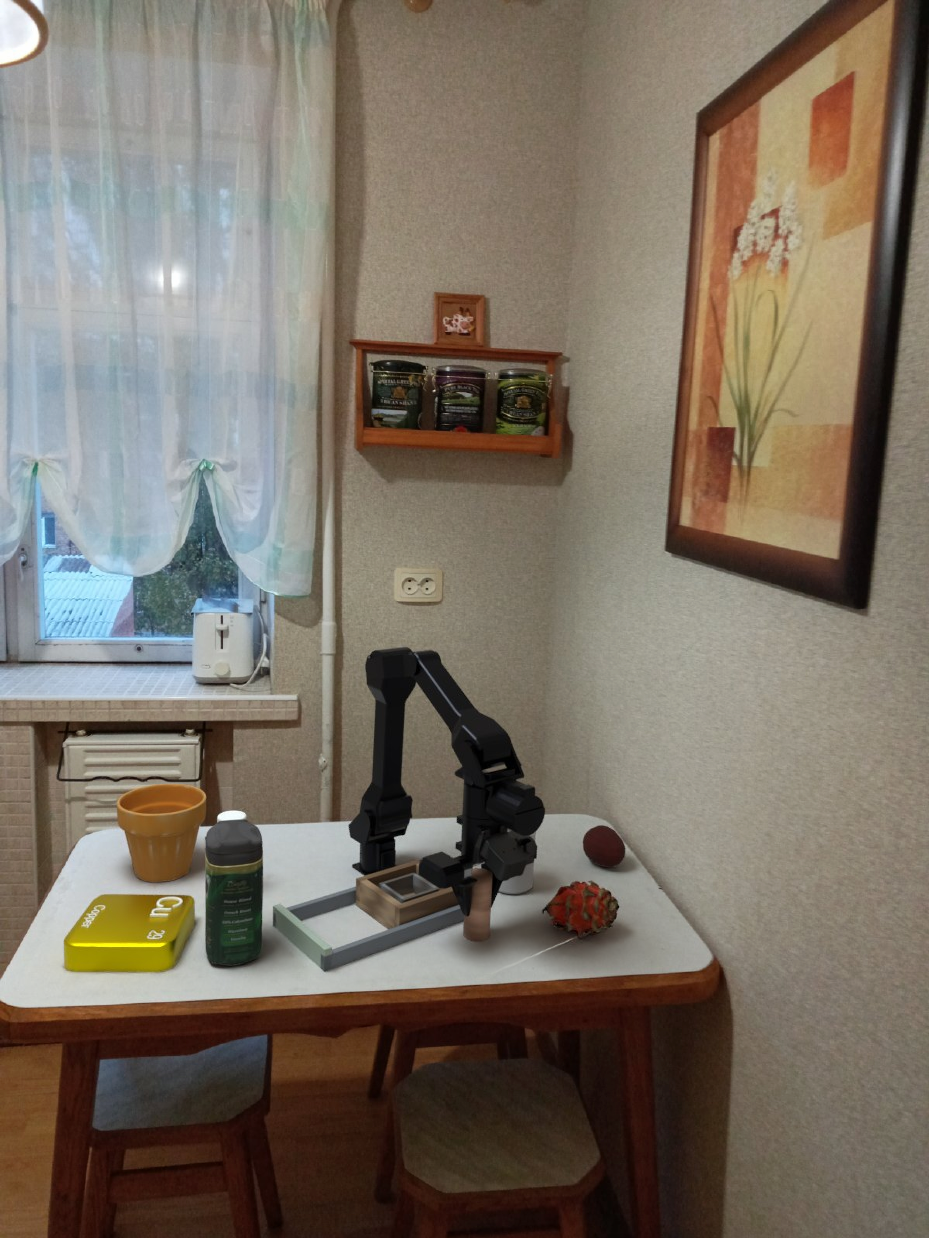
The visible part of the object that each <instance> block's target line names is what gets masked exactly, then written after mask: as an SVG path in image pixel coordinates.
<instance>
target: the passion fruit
mask: <svg viewBox="0 0 929 1238" xmlns="http://www.w3.org/2000/svg"><path fill="white" fill-rule="evenodd" d="M582 847H583V848H582V849H583V850H582V851H583V853H584V854H585V856H586V857H587V858H588V859H589V860H590V861H591V862H593V863H595V864H596V865H598V866H601V867H604V868H614V867H615V868H616V867H617V866H618V865H619V866H620V864H621V863H622V862H623V860H624V859H625V857H626V846H625V843H624V840H623V839H622V838H621V837H620V835H619V834H618V832H617V831H616V830H615V829H613V828H612V827H609V826H607V825H603V824H602V825H596V826H594V827H592V828H589V830H587V831H586V833H585V834H584V835H583V839H582Z"/></svg>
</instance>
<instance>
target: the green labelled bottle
mask: <svg viewBox="0 0 929 1238" xmlns="http://www.w3.org/2000/svg"><path fill="white" fill-rule="evenodd" d="M204 841H205V842H204V843H205V848H204V849H205V850H204V851H205V853H204V854H205V859H204V860H205V863H204V864H205V870H204V871H205V874H204V875H205V879H204V880H205V881H204V882H205V885H204V886H205V887H204V888H205V893H204V894H205V898H204V900H205V904H204V905H205V921H204V922H205V923H204V924H205V925H204V929H205V931H204V932H205V934H204V935H205V936H204V937H205V941H204V942H205V943H204V944H205V953H206V956H207V958H208V960H209V962H211V963H212V964H215V965H222V966H228V967H229V966H230V967H231V966H240V965H243V964H246V963H248V962H251V961H254V960H255V959H258V958H259V956H260V955H261V953H262V949H263V909H264V908H263V905H264V903H263V902H264V899H263V898H264V850H263V844H264V843H263V837H262V832H261V830H260V829H259V827H258V826H257V825H255V824H254V823H252V822H250V821H248V820H246V819H238V820H224V821H219V822H218V823H217V822H216V823H215V824H214V825H213V826H211V827H210V828H209V829H208V831H207V832H206V836H205V837H204Z"/></svg>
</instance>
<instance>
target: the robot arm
mask: <svg viewBox="0 0 929 1238" xmlns="http://www.w3.org/2000/svg"><path fill="white" fill-rule="evenodd" d="M364 666H365V667H364V668H365V677H366V686H367V688H368V689H369V691H370V693H371V695H372V697H373V698H374V700H375V701H374V702H375V703H374V704H375V707H374V724H373V725H374V727H373V744H372V745H373V749H372V766H371V767H372V770H371V774H372V775H371V783H370V784H369V785H368V787H367V788H366V790H365V792H364V793H363V794H362V796H361V802H360V807H359V813H358V814H357V815H356V816H355V817H354V818H353V820H352V821H351V822H350V823H349V824H348V832H349V836H350V838H351V839H353V840H354V842H355V841H356V842H357V843H359V862H356V863H352V865H351V868H352V869H354V870H355V871H356V872H358V873H360V874H361V875H362V876H366V875H369V874H372V873H376V872H379V871H382V870H386V869H389V868H392V867H396V866H399V865H397V864H396V861H397V859H396V858H397V854H396V853H397V851H396V839H395V838H397V837H400V836H401V837H402V836H406V833H407V831H408V830H407V829H408V826H409V825H410V821H411V819H412V818H413V813H412V809H413V808H412V807H413V797H412V796H411V795H410V794H408V793H407V791H406V790H405V788H404V787H403V785H402V775H403V754H404V739H405V738H404V736H405V735H404V734H405V719H406V718H405V716H406V715H405V713H406V702H407V700H408V699H409V697H410V696H411V694H412V692H413V691H414V689H416V688H415V687H416V686H417V685H418V687H419V688H420V690H421V691H422V692H423V694H424V695H425V697H426V699H427V700H428V701H429V702H430V704H431V705H432V706H433V708H434V709H435V710H436V712H437V714H438V715H439V716H440V718H441V719H442V721H443V722H444V724H445V725H446V726H447V728H448V730H449V732H450V734H451V740H450V741H451V748H452V750H453V751H454V755H455V756H456V757H457V759H458V761H459V764H460V765H461V767H459V768H458V769H456V770H454V771H455V772H454V776H455V777H458V778H459V779H461V780H463V792H462V814H461V815H456V822H455V823H457V824H458V825H460V826H461V837H460V838H461V840H459V841H456V842H455V847H454V849H455V850H457V851H459V852H460V855H459V856H454V857H453V856H451V855H449V854H448V853H445V852H444V851H440V852H439V851H438V852H436V853H433V854H428V855H425V856H423V857H422V858H421V859H420V860H419V861H420V862H419V875H420V876H421V877H423V878H424V879H426V880H428V881H429V882H431V883H432V884H434V885H435V886H437V887H439V888H442V889H446V888H449V887H452V889H453V892H454V894H455V896H456V899H457V901H458V903H459V906H460V908H461V910H462V913H463V914H464V915H465V916H466V917H468V916H469V915H470V909H471V897H472V886H473V885H474V884H475V883H476V882H478V880H477V879H475V878H474V877H472V869H473V868H475V867H477V866H480V868H483V869H487V870H489V871H490V872H492V895H491V909H492V907H493V906H494V903H495V900H496V898H497V896H498V893H499V892H498V891H499V889H500V886H501V884H502V882H503V881H507V880H509V879H510V878H513V877H516V876H521V875H523V872H524V870H525V867H526V865H528V864H531V863H533V862H534V863H535V860H537V859H538V857H537V856H538V845H537V843H536V839H535V840H534V839H533V838H532V837H531V836H529V835H532V834H533V833H535V832H536V833H537V831H538V830H539V829H540V828H541V826H542V824H543V821H544V819H545V814H546V808H545V805H544V802H543V800H542V799H541V798H540V797H539V796H537V795H536V787H535V786H533V785H531V784H525V783H523V782H520V781H519V780H521V779H525V773H524V771H523V768H522V763H521V761H520V759H519V757H518V756H517V752H516V751H515V748H514V745H513V742H512V739H511V736H510V735H509V733H508V731H506V730H505V729H504V728H503V727H502V725H500V724H499V723H498V722H497V721H496V720H495V718H492V717H490V716H488V715H486V714H484V713H482V712H480V711H479V710H478V709H477V708H476V707H475V705H473V703H472V702H471V700H470V699H469V697H467V695H466V694H465V692H464V691H463V689H462V688H461V687H460V686H459V684H458V683H457V681H456V680H455V679H454V678H453V677H452V675H451V673H450V672H449V671H448V669H447V668H446V666H444V664H443V663H442V658H441V656H440V654H439V653H438V651H434V650H432V649H427V650H416V651H413V650H412V649H411V647H410V648H409V647H408V646H402V647H401V646H400V647H391V648H382V649H376V650H375V649H374V650H373V651H371V653H370V654H368V655H367V657H366V660H365V663H364ZM504 765H505V768H500V769H496V770H492V771H489V770H488V769H493V768H498V767H502V766H504ZM508 829H510V830H512V831H509V832H508V831H507V830H508Z"/></svg>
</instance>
